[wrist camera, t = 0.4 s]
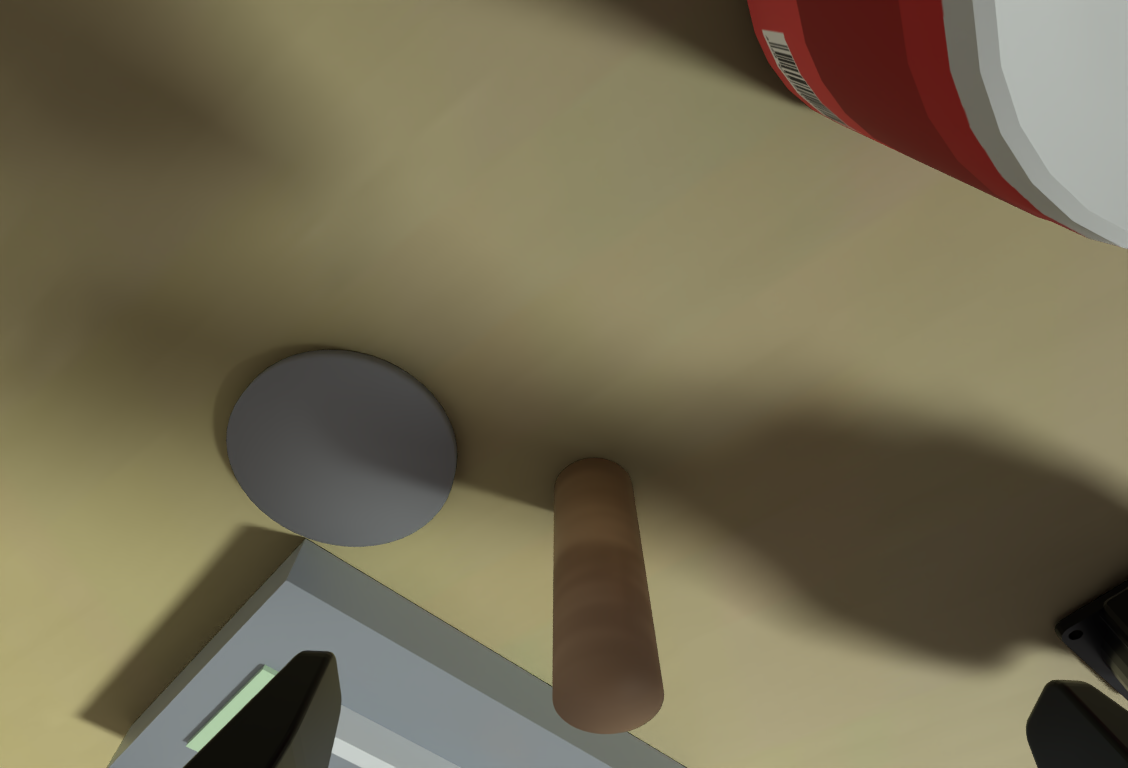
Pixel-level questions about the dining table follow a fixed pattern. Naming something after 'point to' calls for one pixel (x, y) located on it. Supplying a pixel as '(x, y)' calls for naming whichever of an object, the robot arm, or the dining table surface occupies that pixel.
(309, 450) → the pad
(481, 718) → the panel
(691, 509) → the dining table surface
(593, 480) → the dowel
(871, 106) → the canned food
